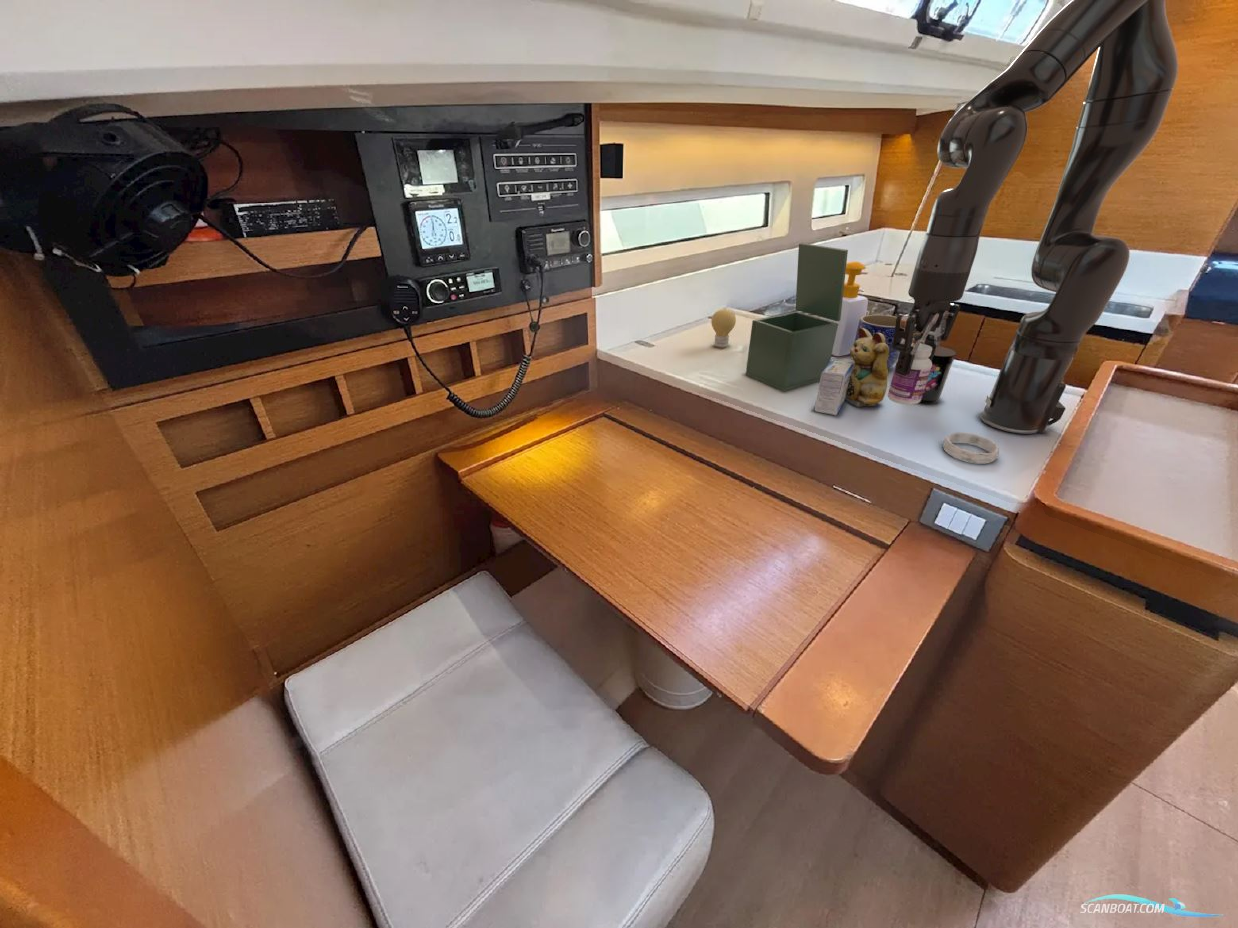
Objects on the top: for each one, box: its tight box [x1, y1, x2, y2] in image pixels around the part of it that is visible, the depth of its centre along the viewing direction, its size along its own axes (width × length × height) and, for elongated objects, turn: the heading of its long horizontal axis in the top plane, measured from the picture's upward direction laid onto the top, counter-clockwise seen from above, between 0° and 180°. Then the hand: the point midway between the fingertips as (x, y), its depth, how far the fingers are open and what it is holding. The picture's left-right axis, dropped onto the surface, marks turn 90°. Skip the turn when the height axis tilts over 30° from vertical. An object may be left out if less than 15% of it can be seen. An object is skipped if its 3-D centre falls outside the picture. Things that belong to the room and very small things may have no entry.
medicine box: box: [814, 359, 853, 416], centre depth 101 cm, size 8×4×9 cm, turn 148°
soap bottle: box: [819, 261, 869, 357], centre depth 129 cm, size 10×14×22 cm
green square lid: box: [794, 242, 849, 321], centre depth 109 cm, size 15×12×1 cm
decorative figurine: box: [845, 328, 889, 408], centre depth 101 cm, size 10×8×15 cm
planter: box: [854, 314, 903, 370], centre depth 120 cm, size 11×11×11 cm
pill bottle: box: [887, 342, 932, 406], centre depth 86 cm, size 5×5×10 cm
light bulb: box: [710, 308, 737, 349], centre depth 134 cm, size 6×6×10 cm
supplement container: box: [918, 345, 957, 405], centre depth 103 cm, size 7×7×10 cm
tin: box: [745, 310, 838, 392], centre depth 114 cm, size 14×12×13 cm
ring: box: [942, 432, 1000, 465], centre depth 86 cm, size 8×8×2 cm
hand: (912, 369), depth 85 cm, fingers closed on pill bottle, 5 cm apart
